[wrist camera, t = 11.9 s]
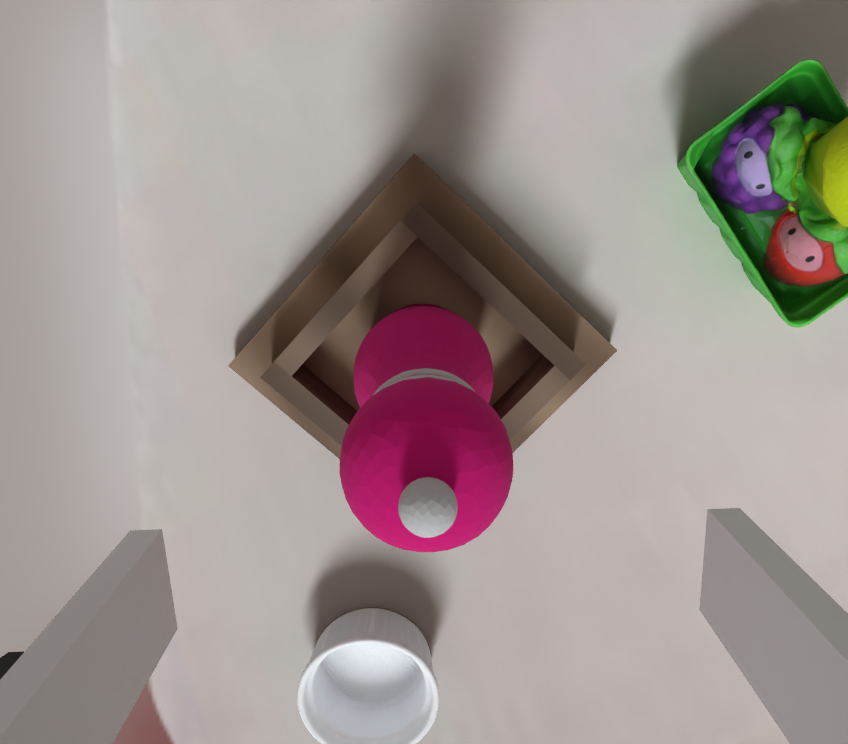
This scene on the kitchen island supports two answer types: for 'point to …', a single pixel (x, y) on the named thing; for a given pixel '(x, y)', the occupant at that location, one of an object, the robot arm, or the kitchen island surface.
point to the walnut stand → (420, 284)
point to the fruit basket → (782, 190)
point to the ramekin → (369, 681)
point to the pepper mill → (425, 433)
